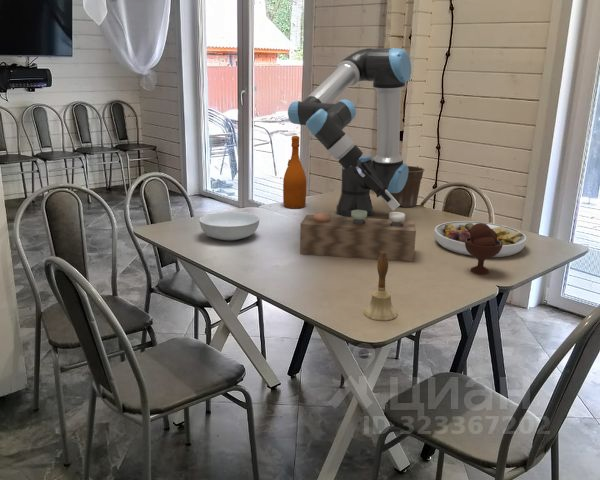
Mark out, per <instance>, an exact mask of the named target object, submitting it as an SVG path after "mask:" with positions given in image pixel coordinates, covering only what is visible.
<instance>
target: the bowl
mask: <svg viewBox="0 0 600 480" xmlns="http://www.w3.org/2000/svg"><path fill="white" fill-rule="evenodd" d="M478 223H483V224H487V225H488V226H489V227H490V228H491V229H493V231H495V232H496V233H497V240H500V241H502V244H503V245H502V248H501V250H500V252H499V253H498V254H497V255H495V256H494V257H493V258H505V257H510V256H513V255H516V254H518V253H519V252H521V251H522V250H523V249H524V248H525V246H526V243H527V235H526V234H525V233H523V232H522V231H520V230H519V229H516V228H513V227H509V226H507V225H502V224H498V223H493V222H492V223H491V222H486V221H476V220H475V221H473V220H458V221H457V220H456V221H455V220H454V221H447V222H442V223H440V224H438V225H436V226H435V227H434V238H435V240H436V242H437V243H438V244H439V245H440V246H441V247H443V248H445V249H446V250H448V251H451V252H454V253H456V254H460V255H464V256H468V257H469V256H471V257H473V256H472V255H471V254H470V253H469V252H468V251H467V250H466V247H465V238H467V237H470V233H469V231H470V229H471V227H472V226H474V225H475V224H478Z"/></svg>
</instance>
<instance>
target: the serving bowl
mask: <svg viewBox="0 0 600 480" xmlns="http://www.w3.org/2000/svg"><path fill="white" fill-rule="evenodd" d="M198 221H199V226H200V228H201V230H202V231H203V233H204V234H205V235H206V236H208V237H210V238H213V239H216V240H221V241H228V242H229V241H237V240H242V239H244V238H247V237H249V236H251V235H253V234H254V233H255V232H256V231H257V230H258V227H259V225H260V217H259V215H257V214H254V213H253V212H252V213H251V212H246V211H220V212H218V211H217V212H213V213H207V214H205V215H202V216H201V217H200V218H199V220H198Z"/></svg>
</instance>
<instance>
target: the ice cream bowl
mask: <svg viewBox="0 0 600 480" xmlns="http://www.w3.org/2000/svg"><path fill="white" fill-rule="evenodd" d="M469 233H470V237H467V238H465V247H466V250H467V251H468V252H469V253H470V254H471V255H472V256H471V257H473V258H476V259H477V265H475V266H472V267H471V268H470V272H471V273H473V274H475V275H479V276H480V275H481V276H483V275H484V276H486V275H488V274H490V271H489V269H488V268H487V267H486V266H485V265H484V264H485V263H484V262H485V260H489V259H491V258H495V257H494V256H495V255H497V254H498V253H499V252H500V250H501V248H502V245H503V244H502V241H500V240H497V233H496V232H495V231H493V229H491V228H490V227H489V226H488V225H487V224H483V223H478V224H475V225H474V226H472V227H471V229H470V231H469Z"/></svg>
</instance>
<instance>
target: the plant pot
mask: <svg viewBox="0 0 600 480" xmlns="http://www.w3.org/2000/svg"><path fill="white" fill-rule="evenodd" d="M407 166H408V170H409V171H408V178H407V181H406V184H405V186H404V188H403V189H402V190H401V191H400V192H399V193H390V194H391V195H392V196H393V197H394V199H395V200H396V201H397V202H398V203H399V204H400V206H399V207H402V208H413V207H416V206H417V204H418V198H419V192H420V188H421V182H422V179H423V175H424V172H425V168H423V167H419V166H415V165H414V166H413V165H407Z"/></svg>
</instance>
